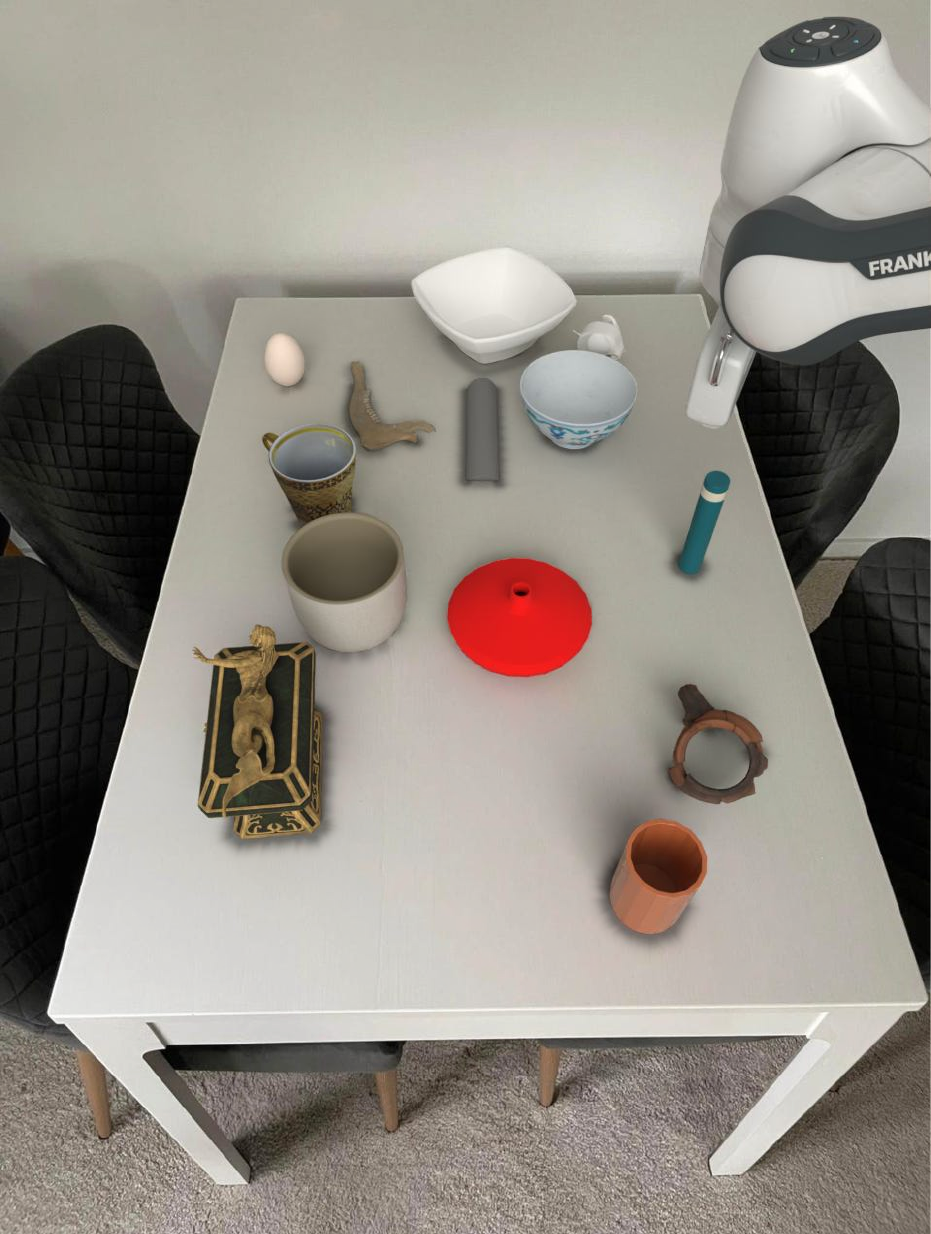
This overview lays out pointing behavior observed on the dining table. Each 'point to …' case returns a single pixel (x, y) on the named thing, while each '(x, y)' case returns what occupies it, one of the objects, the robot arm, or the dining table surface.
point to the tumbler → (657, 875)
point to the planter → (346, 580)
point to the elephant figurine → (602, 338)
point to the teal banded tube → (704, 521)
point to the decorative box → (263, 738)
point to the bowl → (493, 301)
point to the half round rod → (482, 431)
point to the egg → (284, 359)
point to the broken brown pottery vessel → (707, 716)
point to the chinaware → (577, 396)
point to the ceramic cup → (314, 469)
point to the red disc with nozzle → (519, 617)
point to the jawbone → (369, 422)
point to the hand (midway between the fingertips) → (725, 385)
